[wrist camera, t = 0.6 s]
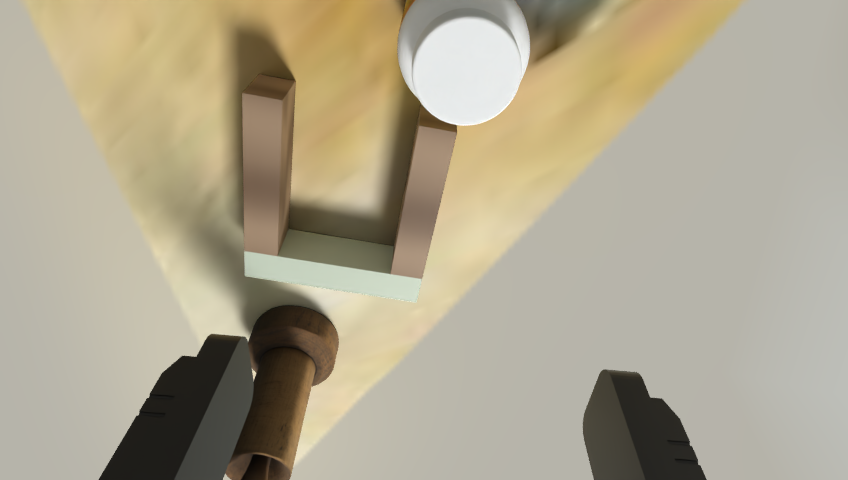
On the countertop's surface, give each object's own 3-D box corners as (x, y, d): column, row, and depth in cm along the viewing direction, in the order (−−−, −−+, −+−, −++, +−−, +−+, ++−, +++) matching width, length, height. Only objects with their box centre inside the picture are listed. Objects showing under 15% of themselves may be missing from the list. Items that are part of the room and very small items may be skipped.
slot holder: (259, 74, 29) (242, 92, 26) (455, 111, 30) (456, 132, 27) (258, 248, 35) (244, 276, 33) (417, 273, 36) (416, 302, 34)
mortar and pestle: (355, 350, 41) (310, 618, 26) (289, 375, 43) (211, 638, 28) (306, 292, 38) (222, 562, 23) (236, 322, 40) (116, 590, 25)
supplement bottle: (402, 63, 28) (388, 138, 20) (408, -50, 25) (394, -14, 17) (501, 72, 28) (526, 149, 20) (519, -40, 25) (557, 0, 17)
